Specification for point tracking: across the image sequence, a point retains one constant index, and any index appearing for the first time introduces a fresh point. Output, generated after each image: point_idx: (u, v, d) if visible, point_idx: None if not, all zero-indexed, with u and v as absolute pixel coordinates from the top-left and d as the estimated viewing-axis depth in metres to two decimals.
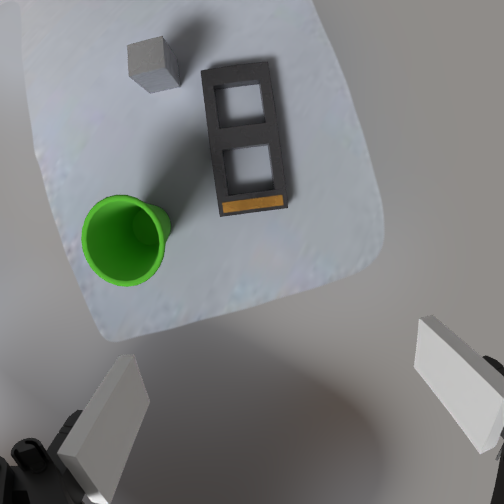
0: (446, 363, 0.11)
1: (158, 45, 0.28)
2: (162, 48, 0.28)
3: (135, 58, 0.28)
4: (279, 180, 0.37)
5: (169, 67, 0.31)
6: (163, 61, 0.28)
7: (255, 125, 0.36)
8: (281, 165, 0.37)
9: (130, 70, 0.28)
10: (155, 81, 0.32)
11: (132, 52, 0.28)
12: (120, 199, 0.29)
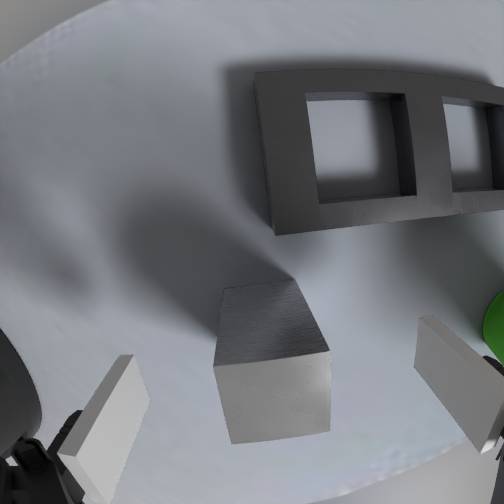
0: (446, 363, 0.11)
1: (246, 374, 0.11)
2: (260, 363, 0.11)
3: (279, 425, 0.11)
4: (491, 93, 0.14)
5: (296, 325, 0.13)
6: (308, 357, 0.11)
7: (411, 115, 0.14)
8: (472, 83, 0.14)
9: (313, 430, 0.11)
10: None
11: (258, 432, 0.11)
12: None
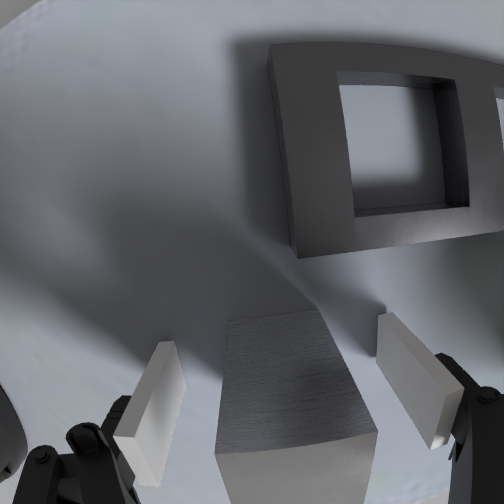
0: (400, 358, 0.12)
1: (260, 462, 0.07)
2: (281, 451, 0.07)
3: None
4: None
5: (327, 385, 0.09)
6: (348, 440, 0.07)
7: (463, 107, 0.10)
8: None
9: None
10: None
11: None
12: None
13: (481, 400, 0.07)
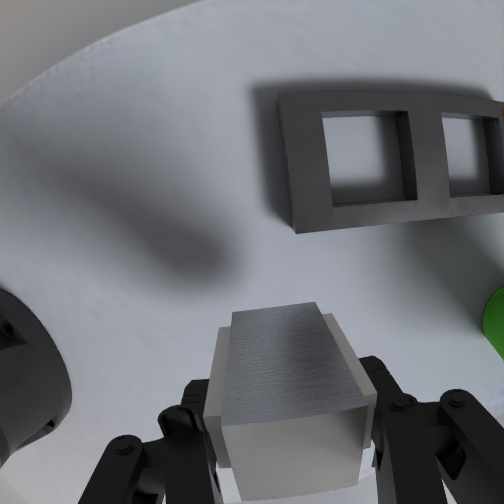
0: None
1: (262, 434, 0.08)
2: (281, 422, 0.08)
3: (299, 483, 0.08)
4: (487, 107, 0.16)
5: (322, 366, 0.10)
6: (341, 413, 0.08)
7: (413, 130, 0.17)
8: (469, 99, 0.16)
9: (339, 485, 0.09)
10: None
11: (274, 490, 0.08)
12: None
13: (395, 408, 0.08)
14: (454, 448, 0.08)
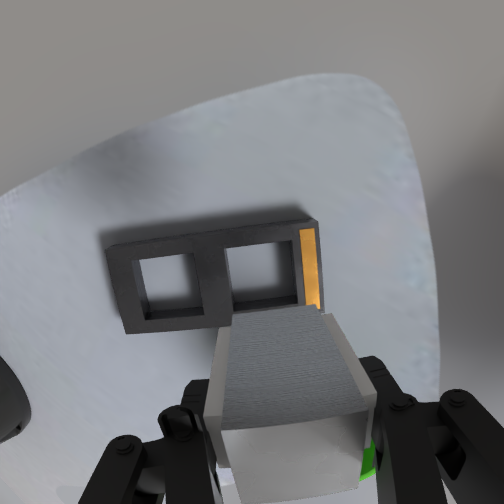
0: None
1: (262, 438, 0.08)
2: (281, 427, 0.08)
3: (300, 486, 0.08)
4: (278, 233, 0.26)
5: (322, 370, 0.10)
6: (341, 418, 0.08)
7: (198, 267, 0.26)
8: (256, 230, 0.26)
9: (339, 489, 0.08)
10: None
11: (274, 494, 0.08)
12: None
13: (394, 408, 0.08)
14: (454, 448, 0.08)
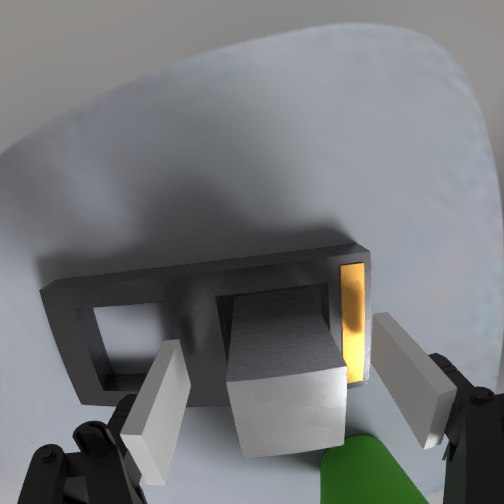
0: (394, 358, 0.12)
1: (260, 389, 0.10)
2: (275, 379, 0.10)
3: (293, 440, 0.11)
4: (305, 272, 0.15)
5: (310, 337, 0.12)
6: (324, 372, 0.10)
7: (174, 323, 0.16)
8: (269, 267, 0.15)
9: (327, 444, 0.11)
10: None
11: (270, 447, 0.11)
12: None
13: (474, 400, 0.07)
14: None
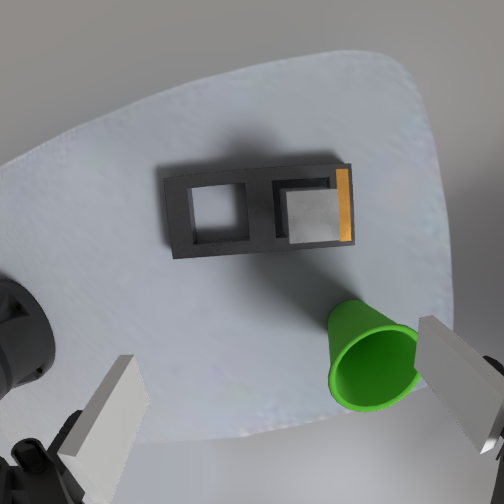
0: (446, 363, 0.11)
1: (300, 197, 0.24)
2: (307, 192, 0.24)
3: (314, 231, 0.25)
4: (318, 170, 0.30)
5: (321, 188, 0.27)
6: (328, 190, 0.24)
7: (248, 195, 0.30)
8: (300, 167, 0.30)
9: (331, 237, 0.25)
10: None
11: (304, 235, 0.25)
12: (334, 371, 0.25)
13: None
14: None
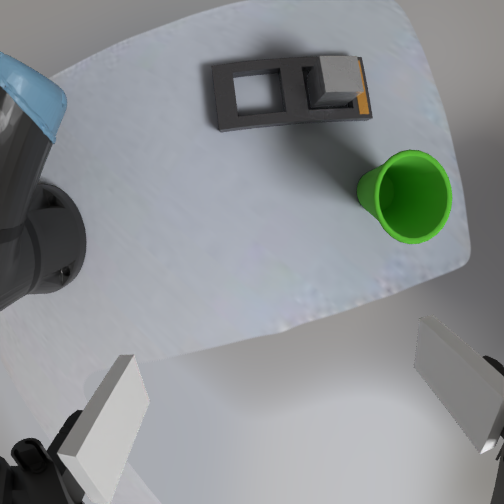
0: (446, 363, 0.11)
1: (330, 59, 0.27)
2: (334, 56, 0.27)
3: (343, 83, 0.28)
4: None
5: None
6: (350, 56, 0.27)
7: (283, 77, 0.33)
8: None
9: (357, 89, 0.28)
10: None
11: (336, 86, 0.28)
12: (378, 192, 0.28)
13: None
14: None
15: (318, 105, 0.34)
